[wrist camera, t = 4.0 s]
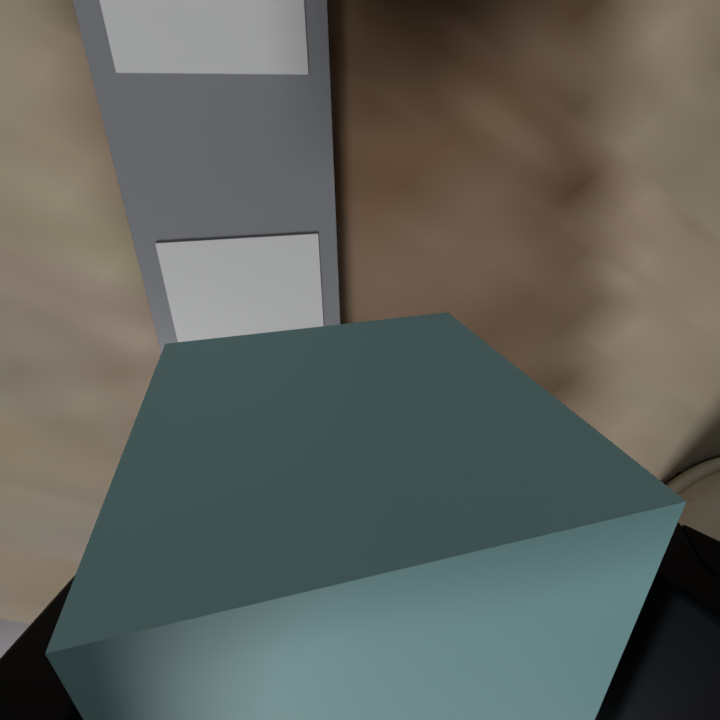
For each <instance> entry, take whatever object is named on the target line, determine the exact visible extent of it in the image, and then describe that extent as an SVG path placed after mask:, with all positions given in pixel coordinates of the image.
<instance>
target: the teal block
mask: <svg viewBox="0 0 720 720" xmlns="http://www.w3.org/2000/svg"><path fill="white" fill-rule="evenodd" d="M685 504H686V501H685V500H684V499H683V498H681V497H680V496H679V495H678V494H676V493H675V492H674V491H672V490H671V489H670V488H669V487H667V486H666V485H665V484H664V483H662V482H661V481H660V480H659V479H657V478H656V477H655V476H653V475H652V474H651V473H650V472H648V471H647V470H646V469H645V468H643V467H642V466H641V465H640V464H638V463H637V462H636V461H635V460H633V459H632V458H631V457H629V456H628V455H627V454H626V453H624V452H623V451H622V450H621V449H619V448H618V447H617V446H616V445H614V444H613V443H612V442H611V441H609V440H608V439H607V438H605V437H604V436H603V435H602V434H600V433H599V432H598V431H597V430H595V429H594V428H593V427H592V426H590V425H589V424H588V423H586V422H585V421H584V420H583V419H581V418H580V417H579V416H578V415H576V414H575V413H574V412H573V411H571V410H570V409H569V408H568V407H566V406H565V405H564V404H562V403H561V402H560V401H559V400H557V399H556V398H555V397H554V396H552V395H551V394H550V393H549V392H547V391H546V390H545V389H544V388H542V387H541V386H540V385H538V384H537V383H536V382H535V381H533V380H532V379H531V378H530V377H528V376H527V375H526V374H525V373H523V372H522V371H521V370H519V369H518V368H517V367H516V366H514V365H513V364H512V363H511V362H509V361H508V360H507V359H506V358H504V357H503V356H502V355H501V354H499V353H498V352H497V351H495V350H494V349H493V348H492V347H490V346H489V345H488V344H487V343H485V342H484V341H483V340H482V339H480V338H479V337H478V336H477V335H475V334H474V333H473V332H471V331H470V330H469V329H468V328H466V327H465V326H464V325H463V324H461V323H460V322H459V321H458V320H456V319H455V318H454V317H453V316H451V315H450V314H449V313H439V314H430V315H420V316H411V317H402V318H393V319H384V320H375V321H366V322H357V323H348V324H339V325H330V326H321V327H312V328H303V329H294V330H285V331H276V332H266V333H257V334H248V335H239V336H230V337H221V338H212V339H203V340H194V341H185V342H176V343H167V344H165V346H164V348H163V351H162V353H161V356H160V359H159V361H158V364H157V366H156V369H155V371H154V374H153V377H152V379H151V382H150V384H149V387H148V389H147V392H146V395H145V397H144V400H143V402H142V405H141V408H140V410H139V413H138V415H137V418H136V420H135V423H134V426H133V428H132V431H131V433H130V436H129V439H128V441H127V444H126V446H125V449H124V451H123V454H122V457H121V459H120V462H119V464H118V467H117V469H116V472H115V475H114V477H113V480H112V482H111V485H110V488H109V490H108V493H107V495H106V498H105V500H104V503H103V506H102V508H101V511H100V513H99V516H98V519H97V521H96V524H95V526H94V529H93V531H92V534H91V537H90V539H89V542H88V544H87V547H86V549H85V552H84V555H83V557H82V560H81V562H80V565H79V568H78V570H77V573H76V575H75V578H74V580H73V583H72V586H71V588H70V591H69V593H68V596H67V599H66V601H65V604H64V606H63V609H62V611H61V614H60V617H59V619H58V622H57V624H56V627H55V629H54V632H53V635H52V637H51V640H50V642H49V645H48V648H47V650H46V653H45V654H46V656H47V658H48V660H49V661H50V663H51V665H52V667H53V668H54V670H55V672H56V673H57V675H58V677H59V679H60V680H61V682H62V684H63V685H64V687H65V689H66V691H67V692H68V694H69V696H70V697H71V699H72V701H73V703H74V704H75V706H76V708H77V710H78V711H79V713H80V715H81V716H82V718H83V720H595V718H596V716H597V713H598V711H599V709H600V706H601V704H602V701H603V699H604V697H605V694H606V692H607V689H608V687H609V685H610V682H611V680H612V678H613V675H614V673H615V670H616V668H617V666H618V663H619V661H620V659H621V656H622V654H623V651H624V649H625V647H626V644H627V642H628V639H629V637H630V635H631V632H632V630H633V628H634V625H635V623H636V620H637V618H638V616H639V613H640V611H641V608H642V606H643V604H644V601H645V599H646V597H647V594H648V592H649V589H650V587H651V585H652V582H653V580H654V578H655V575H656V573H657V570H658V568H659V566H660V563H661V561H662V558H663V556H664V554H665V551H666V549H667V547H668V544H669V542H670V539H671V537H672V535H673V532H674V530H675V527H676V525H677V523H678V520H679V518H680V516H681V513H682V511H683V508H684V506H685Z"/></svg>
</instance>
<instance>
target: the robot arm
mask: <svg viewBox="0 0 720 720" xmlns="http://www.w3.org/2000/svg"><path fill="white" fill-rule="evenodd" d="M74 578H75V576H74V577H73V578H72V579H71V580H70V581H69V582H68V584H67V585H66V586H65V587H64V588H63V589H62V590H61V591H60V592H59V594H58V595H57V596H56V597H55V598H54V599H53V600H52V601H51V602H50V604H49V605H48V606H47V607H46V608H45V609H44V610H43V611H42V613H41V614H40V615H39V616H38V617H37V618H36V619H35V620H34V621H33V623H32V624H31V625H30V626H29V627H28V628H27V629H26V630H25V632H24V633H23V634H22V635H21V636H20V637H19V638H18V639H17V640H16V642H15V643H14V644H13V645H12V646H11V647H10V648H9V650H7V652H6V653H5V654H4V655H3V656H2V657H1V658H0V720H83V718H82V716H81V715H80V713H79V711H78V710H77V708H76V706H75V704H74V703H73V701H72V699H71V697H70V696H69V694H68V692H67V691H66V689H65V687H64V685H63V684H62V682H61V680H60V679H59V677H58V675H57V673H56V672H55V670H54V668H53V667H52V665H51V663H50V661H49V660H48V658H47V656H46V654H45V653H46V650H47V648H48V645H49V642H50V640H51V637H52V635H53V632H54V629H55V627H56V624H57V622H58V619H59V617H60V614H61V611H62V609H63V606H64V604H65V601H66V599H67V596H68V593H69V591H70V588H71V586H72V583H73V580H74ZM595 720H720V541H718V540H716V539H714V538H712V537H710V536H708V535H706V534H703V533H701V532H699V531H697V530H695V529H693V528H691V527H689V526H687V525H682V526H681V525H680V523H679V522H678V523H677V525H676V527H675V530H674V532H673V535H672V537H671V539H670V542H669V544H668V547H667V549H666V551H665V554H664V556H663V558H662V561H661V563H660V566H659V568H658V570H657V573H656V575H655V578H654V580H653V582H652V585H651V587H650V589H649V592H648V594H647V597H646V599H645V601H644V604H643V606H642V608H641V611H640V613H639V616H638V618H637V620H636V623H635V625H634V628H633V630H632V632H631V635H630V637H629V639H628V642H627V644H626V647H625V649H624V651H623V654H622V656H621V659H620V661H619V663H618V666H617V668H616V670H615V673H614V675H613V678H612V680H611V682H610V685H609V687H608V689H607V692H606V694H605V697H604V699H603V701H602V704H601V706H600V709H599V711H598V713H597V716H596V718H595Z"/></svg>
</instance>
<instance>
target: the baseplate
mask: <svg viewBox="0 0 720 720" xmlns="http://www.w3.org/2000/svg"><path fill="white" fill-rule="evenodd" d="M73 4H74V8H75V12H76V16H77V20H78V24H79V28H80V32H81V36H82V40H83V44H84V48H85V52H86V56H87V59H88V63H89V67H90V71H91V75H92V79H93V83H94V87H95V91H96V95H97V99H98V103H99V107H100V111H101V115H102V119H103V123H104V127H105V131H106V135H107V139H108V143H109V147H110V151H111V155H112V159H113V163H114V167H115V171H116V175H117V179H118V183H119V187H120V191H121V195H122V199H123V203H124V207H125V211H126V215H127V219H128V223H129V227H130V231H131V235H132V239H133V243H134V247H135V250H136V254H137V258H138V262H139V266H140V270H141V274H142V278H143V282H144V286H145V290H146V294H147V298H148V302H149V306H150V310H151V314H152V318H153V322H154V326H155V330H156V334H157V338H158V342H159V346H160V350H161V353H162V351H163V348H164V346H165V344H167V343H176V342H185V341H194V340H203V339H212V338H221V337H230V336H239V335H248V334H257V333H266V332H276V331H285V330H294V329H303V328H312V327H321V326H330V325H339V324H340V306H339V281H338V257H337V233H336V209H335V184H334V160H333V136H332V112H331V87H330V63H329V39H328V15H327V0H73Z"/></svg>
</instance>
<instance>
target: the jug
mask: <svg viewBox="0 0 720 720" xmlns="http://www.w3.org/2000/svg"><path fill="white" fill-rule="evenodd" d="M665 485H666V486H667V487H669V488H670V489H671V490H672V491H674V492H675V493H676V494H678V495H679V496H680V497H681V498H683V499H684V500H685V501H686V504H685V506H684V508H683V511H682V513H681V516H680V518H679V520H678V522H679V523H680V525H681V526H682V525H687V526H689V527H691V528H693V529H695V530H697V531H699V532H701V533H703V534H706V535H708V536H710V537H712V538H714V539H716V540H718V541H720V457H718V458H715V459H711V460H707V461H705V462H703V463H700V464H697V465H695V466H693V467H691V468H689V469H687V470H685V471H684V472H682V473H681V474H679V475H678V476H676V477H675V478H673V479H672V480H670V481H669V482H668V483H667V484H665Z"/></svg>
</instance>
